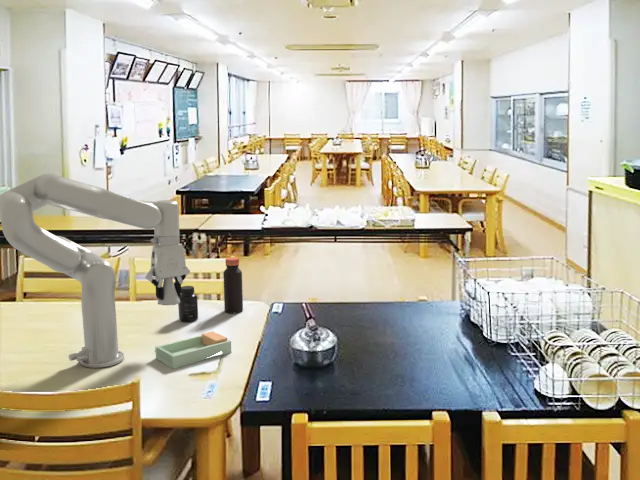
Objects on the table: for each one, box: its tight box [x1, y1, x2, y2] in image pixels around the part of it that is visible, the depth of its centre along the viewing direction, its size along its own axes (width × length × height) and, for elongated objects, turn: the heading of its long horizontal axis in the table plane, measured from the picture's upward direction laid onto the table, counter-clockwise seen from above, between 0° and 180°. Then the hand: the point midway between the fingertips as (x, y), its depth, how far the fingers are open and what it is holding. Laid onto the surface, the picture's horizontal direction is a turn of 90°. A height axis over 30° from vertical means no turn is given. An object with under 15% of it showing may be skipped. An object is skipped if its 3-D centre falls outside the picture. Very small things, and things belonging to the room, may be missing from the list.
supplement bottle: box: [177, 285, 199, 323], centre depth 244 cm, size 7×7×12 cm
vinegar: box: [223, 256, 244, 314], centre depth 253 cm, size 7×7×20 cm
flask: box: [157, 277, 180, 306], centre depth 214 cm, size 7×7×10 cm
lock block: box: [201, 330, 228, 346], centre depth 214 cm, size 4×8×3 cm, turn 41°
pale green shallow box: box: [155, 334, 232, 369], centre depth 210 cm, size 20×11×4 cm, turn 131°
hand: (168, 296), depth 215 cm, fingers closed on flask, 5 cm apart
